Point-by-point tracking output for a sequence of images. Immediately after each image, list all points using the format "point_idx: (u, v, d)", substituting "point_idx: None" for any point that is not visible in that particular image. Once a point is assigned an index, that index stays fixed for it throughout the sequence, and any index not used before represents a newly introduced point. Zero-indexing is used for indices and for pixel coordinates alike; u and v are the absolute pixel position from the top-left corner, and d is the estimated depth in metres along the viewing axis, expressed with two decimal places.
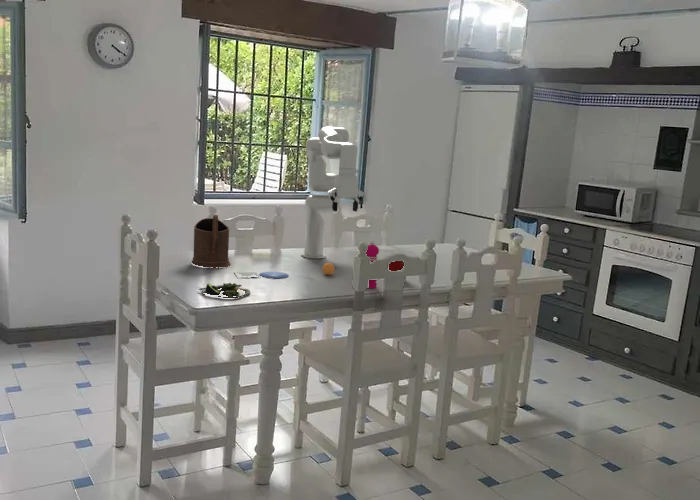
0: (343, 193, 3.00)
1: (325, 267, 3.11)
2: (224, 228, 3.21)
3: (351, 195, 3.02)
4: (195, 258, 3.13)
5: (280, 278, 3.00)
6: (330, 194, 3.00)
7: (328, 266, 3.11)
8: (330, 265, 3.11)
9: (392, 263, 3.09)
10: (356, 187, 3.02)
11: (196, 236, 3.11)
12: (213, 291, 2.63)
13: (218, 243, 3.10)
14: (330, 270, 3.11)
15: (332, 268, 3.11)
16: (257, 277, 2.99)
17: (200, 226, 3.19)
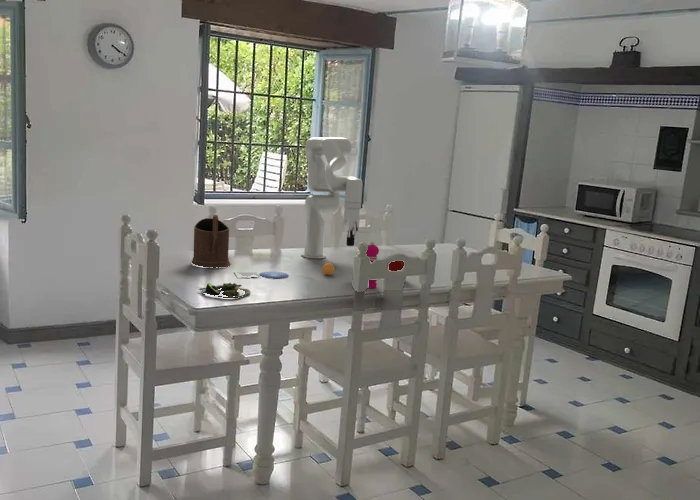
0: None
1: (325, 267, 3.11)
2: (224, 228, 3.21)
3: None
4: (195, 258, 3.13)
5: (280, 278, 3.00)
6: None
7: (328, 266, 3.11)
8: (330, 265, 3.11)
9: (392, 263, 3.09)
10: None
11: (196, 236, 3.11)
12: (213, 291, 2.63)
13: (218, 243, 3.10)
14: (330, 270, 3.11)
15: (332, 268, 3.11)
16: (257, 277, 2.99)
17: (200, 226, 3.19)
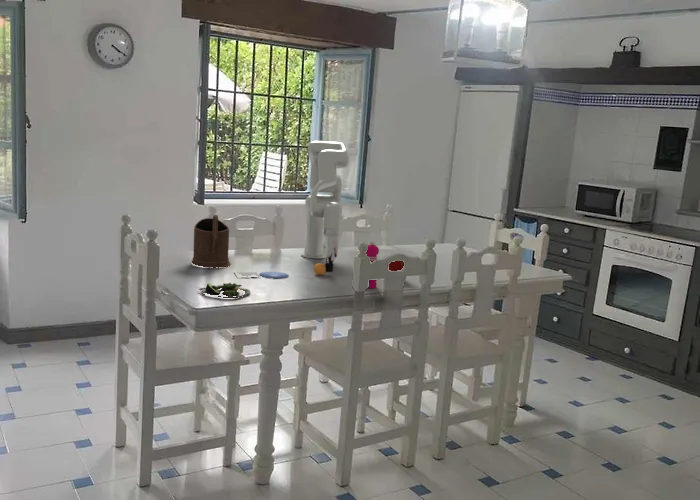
0: None
1: (317, 273, 3.10)
2: (224, 228, 3.21)
3: None
4: (195, 258, 3.13)
5: (280, 278, 3.00)
6: None
7: (317, 270, 3.09)
8: (317, 268, 3.09)
9: (392, 263, 3.09)
10: None
11: (196, 236, 3.11)
12: (213, 291, 2.63)
13: (218, 243, 3.10)
14: (322, 270, 3.09)
15: (321, 267, 3.09)
16: (257, 277, 2.99)
17: (200, 226, 3.19)
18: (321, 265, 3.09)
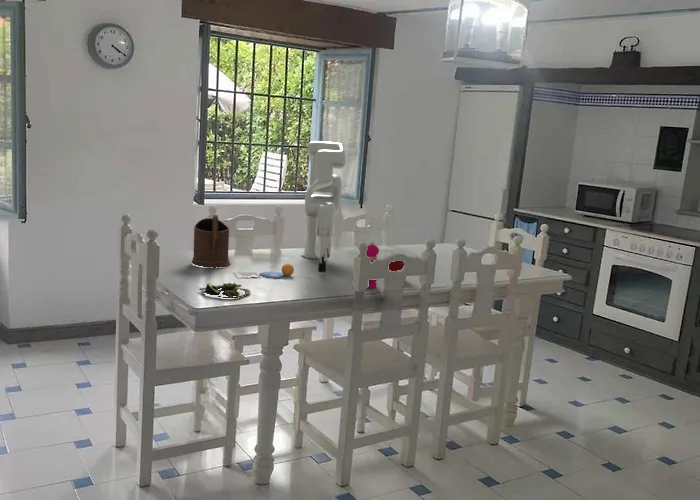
0: None
1: (283, 270, 3.04)
2: (224, 228, 3.21)
3: None
4: (195, 258, 3.13)
5: (280, 278, 3.00)
6: None
7: (286, 268, 3.03)
8: (287, 266, 3.04)
9: (392, 263, 3.09)
10: None
11: (196, 236, 3.11)
12: (213, 291, 2.63)
13: (218, 243, 3.10)
14: (289, 271, 3.03)
15: (290, 268, 3.04)
16: (257, 277, 2.99)
17: (200, 226, 3.19)
18: (292, 267, 3.05)
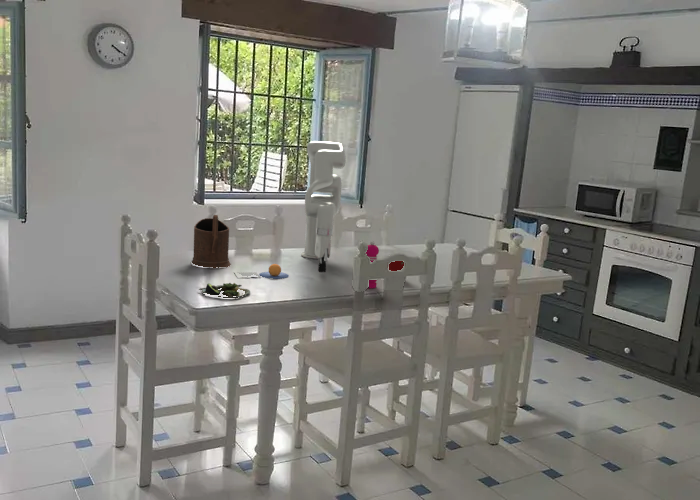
0: None
1: (277, 275, 3.03)
2: (224, 228, 3.21)
3: None
4: (195, 258, 3.13)
5: (280, 278, 3.00)
6: None
7: (275, 275, 3.02)
8: (272, 274, 3.02)
9: (392, 263, 3.09)
10: None
11: (196, 236, 3.11)
12: (213, 291, 2.63)
13: (218, 243, 3.10)
14: (276, 271, 3.01)
15: (273, 271, 3.01)
16: (257, 277, 2.99)
17: (200, 226, 3.19)
18: (271, 269, 3.01)
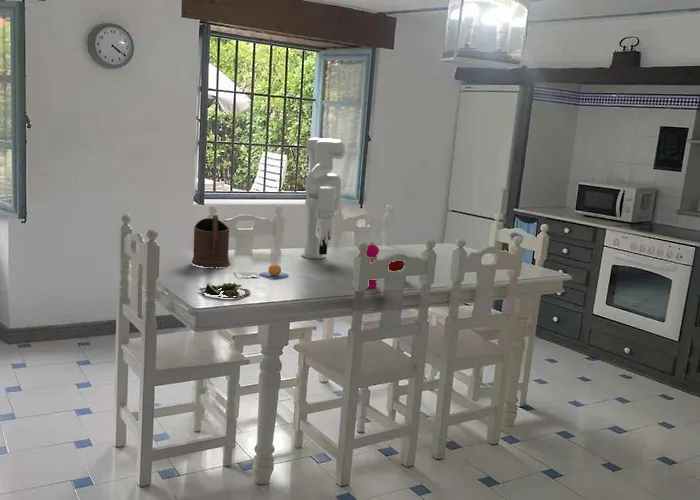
0: None
1: (277, 275, 3.03)
2: (224, 228, 3.21)
3: None
4: (195, 258, 3.13)
5: (280, 278, 3.00)
6: None
7: (275, 275, 3.02)
8: (272, 274, 3.02)
9: (392, 263, 3.09)
10: None
11: (196, 236, 3.11)
12: (213, 291, 2.63)
13: (218, 243, 3.10)
14: (276, 271, 3.01)
15: (273, 271, 3.01)
16: (257, 277, 2.99)
17: (200, 226, 3.19)
18: (271, 269, 3.01)
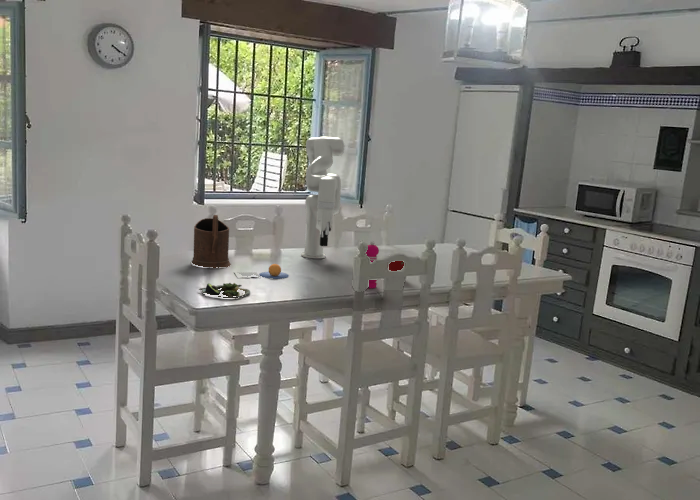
0: None
1: (277, 275, 3.03)
2: (224, 228, 3.21)
3: None
4: (195, 258, 3.13)
5: (280, 278, 3.00)
6: None
7: (275, 275, 3.02)
8: (272, 274, 3.02)
9: (392, 263, 3.09)
10: None
11: (196, 236, 3.11)
12: (213, 291, 2.63)
13: (218, 243, 3.10)
14: (276, 271, 3.01)
15: (273, 271, 3.01)
16: (257, 277, 2.99)
17: (200, 226, 3.19)
18: (271, 269, 3.01)
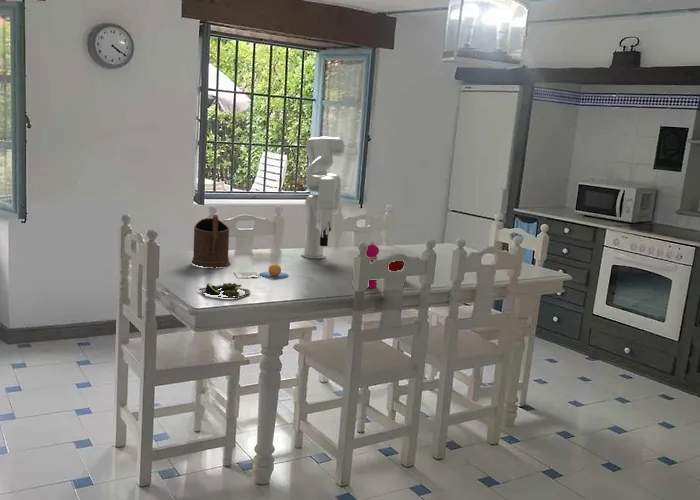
0: None
1: (277, 275, 3.03)
2: (224, 228, 3.21)
3: None
4: (195, 258, 3.13)
5: (280, 278, 3.00)
6: None
7: (275, 275, 3.02)
8: (272, 274, 3.02)
9: (392, 263, 3.09)
10: None
11: (196, 236, 3.11)
12: (213, 291, 2.63)
13: (218, 243, 3.10)
14: (276, 271, 3.01)
15: (273, 271, 3.01)
16: (257, 277, 2.99)
17: (200, 226, 3.19)
18: (271, 269, 3.01)
